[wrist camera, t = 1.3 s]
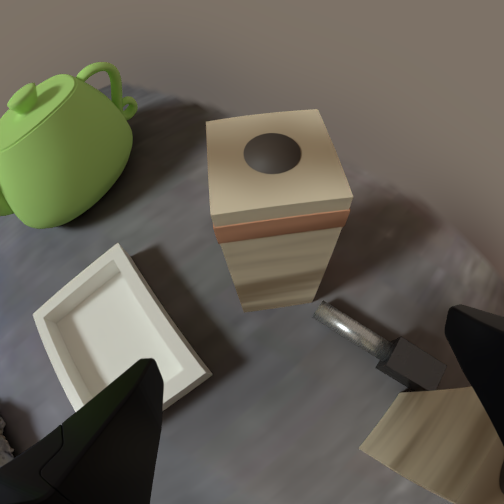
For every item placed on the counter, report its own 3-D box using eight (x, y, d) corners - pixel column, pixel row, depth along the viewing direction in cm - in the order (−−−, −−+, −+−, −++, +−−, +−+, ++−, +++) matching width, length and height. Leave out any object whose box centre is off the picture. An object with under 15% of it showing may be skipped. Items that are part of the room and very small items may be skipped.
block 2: (442, 423, 17) (570, 424, 5) (404, 477, 15) (515, 528, 4) (399, 392, 18) (525, 377, 7) (358, 448, 17) (456, 501, 5)
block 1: (312, 302, 22) (355, 197, 10) (243, 313, 22) (209, 215, 10) (300, 241, 24) (318, 107, 12) (236, 250, 24) (204, 120, 12)
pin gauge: (432, 369, 19) (447, 365, 17) (420, 394, 18) (433, 393, 16) (323, 300, 22) (328, 291, 20) (307, 325, 21) (311, 318, 19)
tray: (213, 374, 20) (205, 372, 18) (113, 443, 18) (96, 447, 16) (130, 256, 25) (117, 242, 22) (49, 322, 22) (32, 314, 20)
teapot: (25, 299, 23) (-72, 237, 12) (-5, 217, 29) (-65, 157, 17) (182, 151, 29) (147, 39, 18) (117, 107, 35) (83, 28, 23)
